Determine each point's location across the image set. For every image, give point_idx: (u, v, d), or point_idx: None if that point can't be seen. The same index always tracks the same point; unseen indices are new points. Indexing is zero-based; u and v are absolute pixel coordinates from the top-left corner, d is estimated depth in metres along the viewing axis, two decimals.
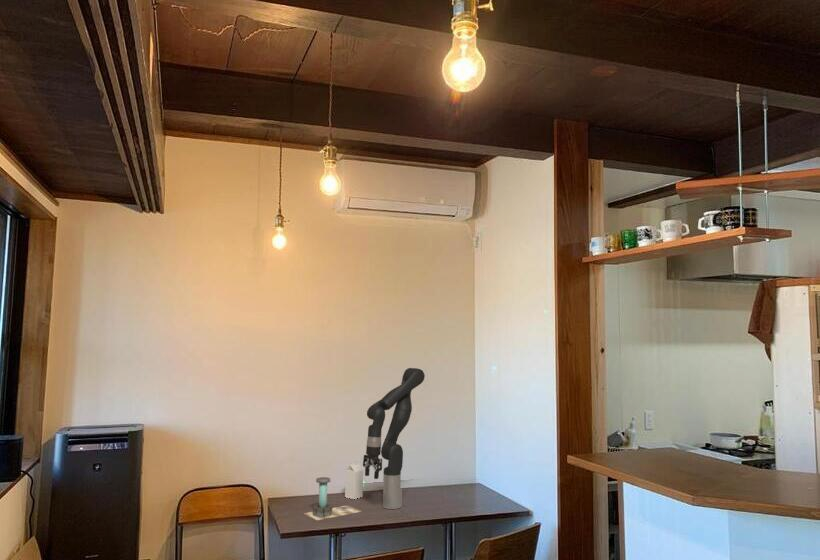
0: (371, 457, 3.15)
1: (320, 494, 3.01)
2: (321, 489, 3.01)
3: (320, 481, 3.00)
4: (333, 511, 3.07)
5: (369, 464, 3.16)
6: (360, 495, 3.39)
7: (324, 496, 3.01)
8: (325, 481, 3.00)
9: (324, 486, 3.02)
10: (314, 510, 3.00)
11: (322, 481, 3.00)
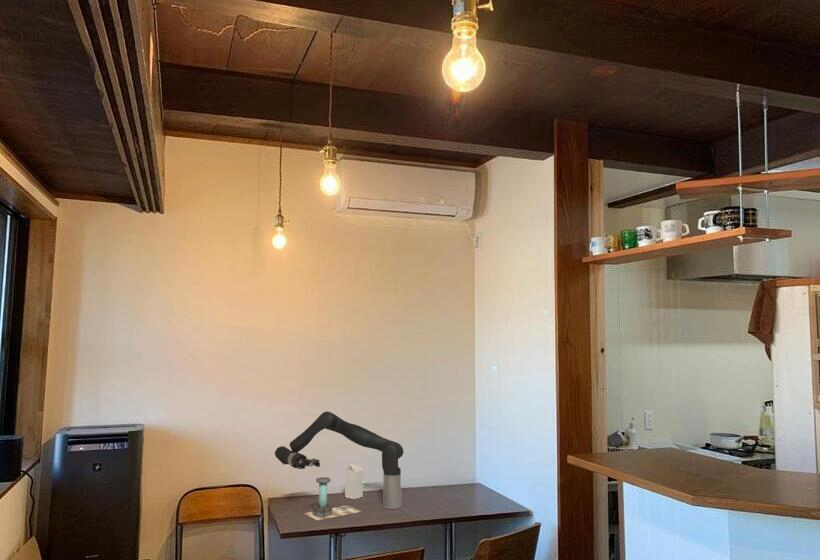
0: None
1: (320, 494, 3.01)
2: (321, 489, 3.01)
3: (320, 481, 3.00)
4: (333, 511, 3.07)
5: (308, 465, 3.19)
6: (360, 495, 3.39)
7: (324, 496, 3.01)
8: (325, 481, 3.00)
9: (324, 486, 3.02)
10: (314, 510, 3.00)
11: (322, 481, 3.00)
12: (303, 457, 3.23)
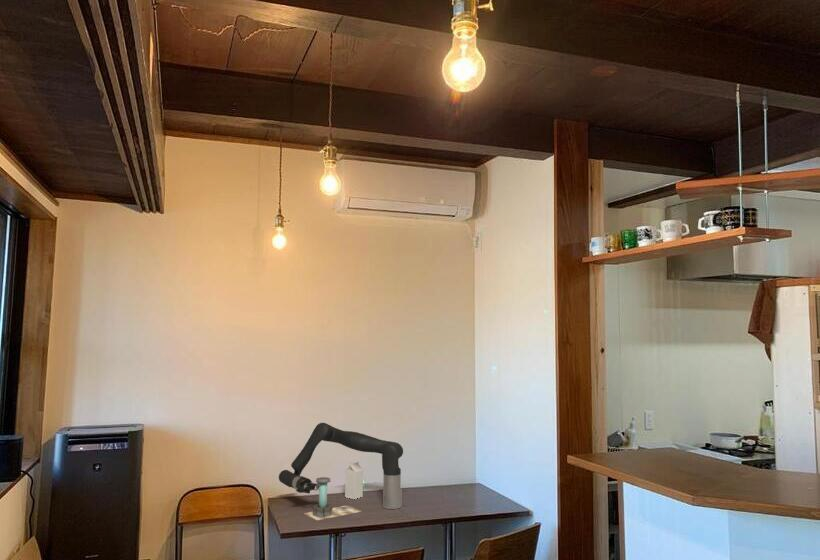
0: None
1: (320, 494, 3.01)
2: (321, 489, 3.01)
3: (320, 481, 3.00)
4: (333, 511, 3.07)
5: (313, 489, 3.14)
6: (360, 495, 3.39)
7: (324, 496, 3.01)
8: (325, 481, 3.00)
9: (324, 486, 3.02)
10: (314, 510, 3.00)
11: (322, 481, 3.00)
12: (308, 481, 3.18)
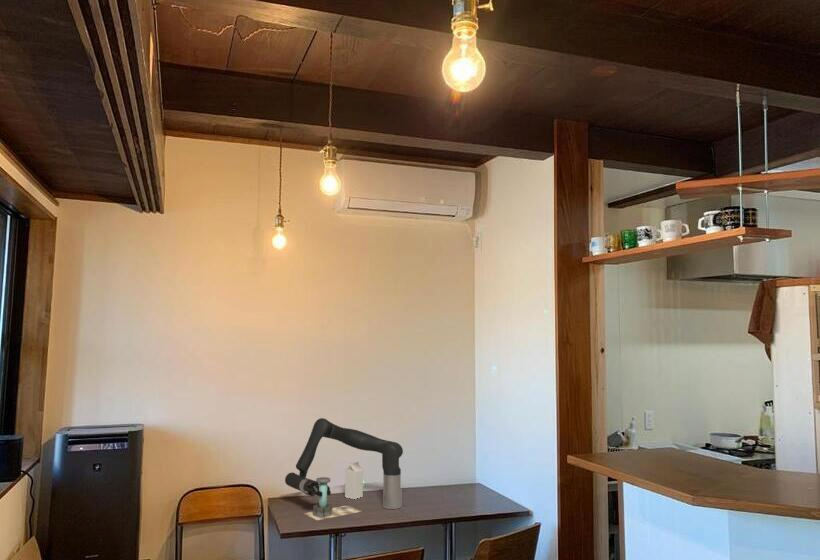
0: None
1: None
2: (321, 489, 3.01)
3: (320, 481, 3.00)
4: (333, 511, 3.07)
5: None
6: (360, 495, 3.39)
7: (324, 496, 3.01)
8: (325, 481, 3.00)
9: (324, 486, 3.02)
10: (314, 510, 3.00)
11: (322, 481, 3.00)
12: (315, 484, 3.11)
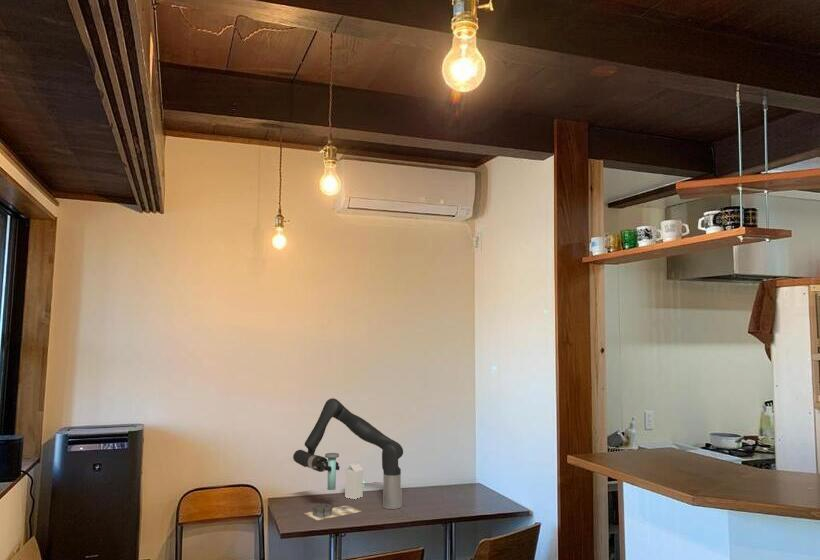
0: None
1: None
2: (330, 464, 3.05)
3: (329, 456, 3.04)
4: (333, 511, 3.07)
5: None
6: (360, 495, 3.39)
7: (333, 471, 3.05)
8: (334, 456, 3.04)
9: (333, 461, 3.05)
10: (314, 510, 3.00)
11: (331, 456, 3.04)
12: (324, 460, 3.15)
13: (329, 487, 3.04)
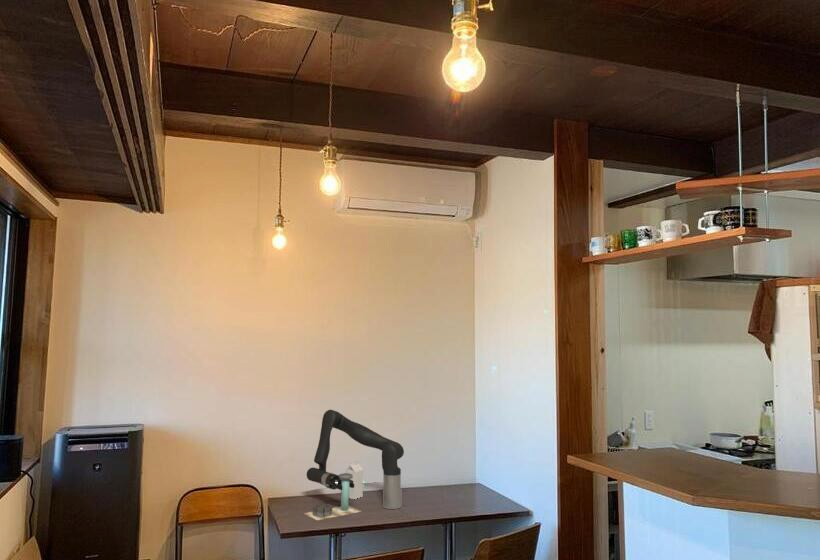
0: None
1: (342, 490, 3.09)
2: (344, 485, 3.09)
3: (343, 477, 3.08)
4: (333, 511, 3.07)
5: None
6: (360, 495, 3.39)
7: (346, 492, 3.09)
8: (348, 477, 3.08)
9: (347, 482, 3.09)
10: (314, 510, 3.00)
11: (345, 477, 3.08)
12: (337, 477, 3.19)
13: (342, 507, 3.08)
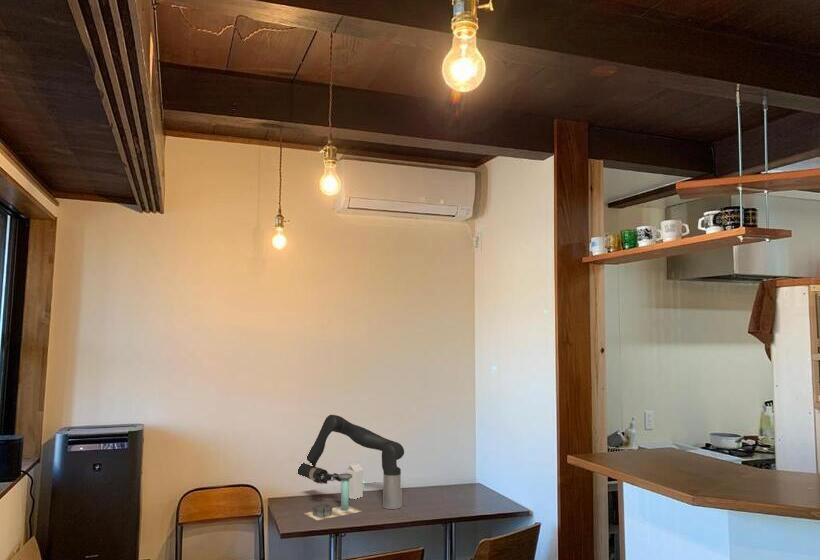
0: None
1: (342, 490, 3.09)
2: (343, 485, 3.09)
3: (342, 477, 3.08)
4: (333, 511, 3.07)
5: (329, 480, 3.26)
6: (360, 495, 3.39)
7: (346, 492, 3.09)
8: (347, 477, 3.08)
9: (346, 482, 3.10)
10: (314, 510, 3.00)
11: (344, 477, 3.08)
12: (324, 472, 3.30)
13: (342, 507, 3.08)
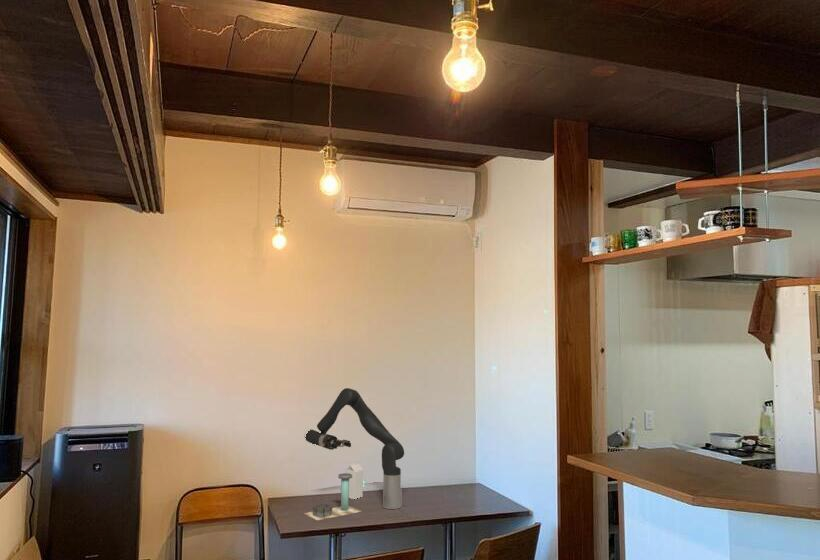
0: None
1: (342, 490, 3.09)
2: (343, 485, 3.09)
3: (342, 477, 3.08)
4: (333, 511, 3.07)
5: (339, 445, 3.28)
6: (360, 495, 3.39)
7: (346, 492, 3.09)
8: (347, 477, 3.08)
9: (346, 482, 3.10)
10: (314, 510, 3.00)
11: (344, 477, 3.08)
12: (334, 438, 3.32)
13: (342, 507, 3.08)
